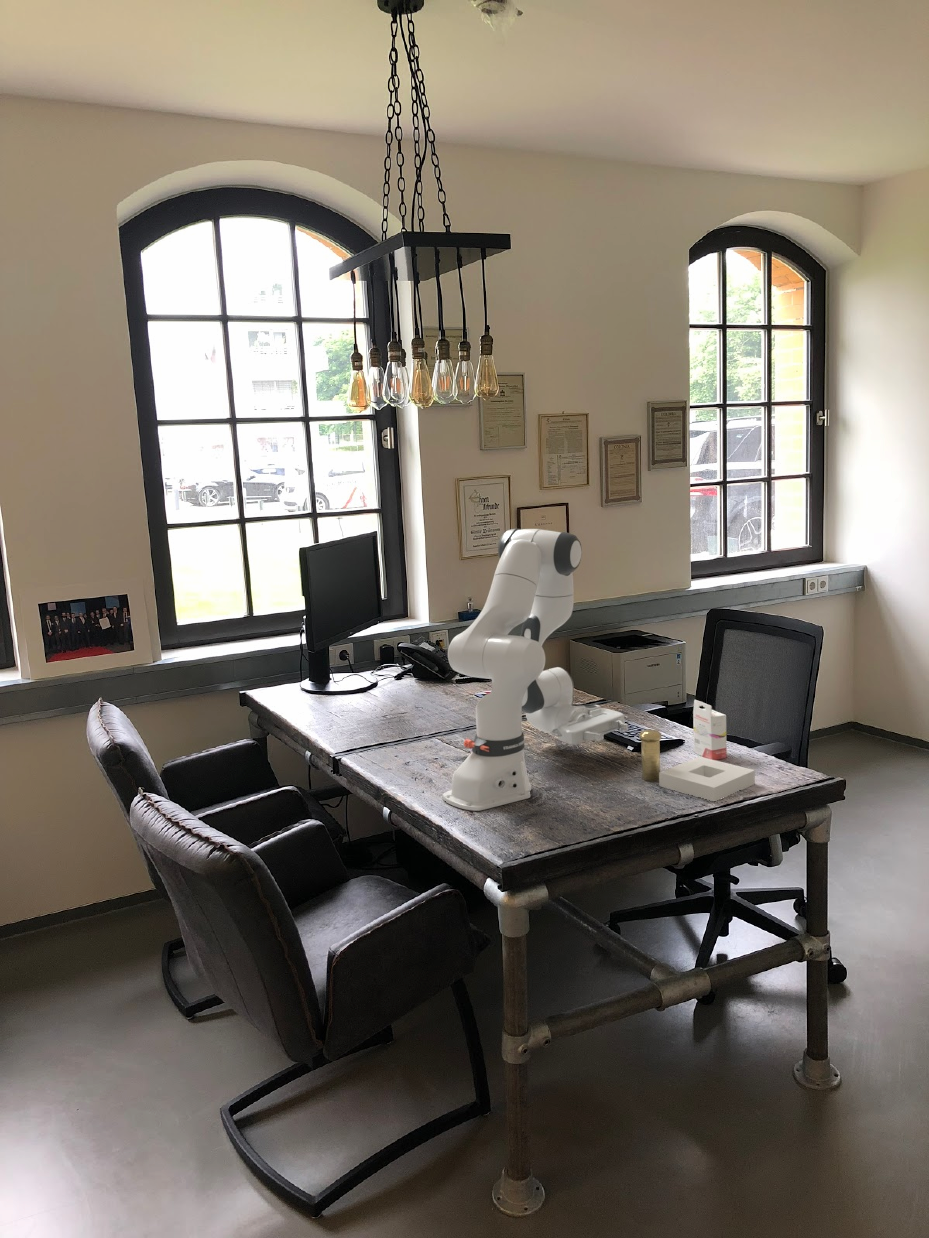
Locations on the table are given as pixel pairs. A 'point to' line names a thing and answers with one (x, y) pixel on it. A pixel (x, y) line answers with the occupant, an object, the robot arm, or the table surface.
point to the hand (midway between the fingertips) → (614, 733)
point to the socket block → (707, 778)
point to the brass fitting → (650, 754)
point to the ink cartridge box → (709, 732)
